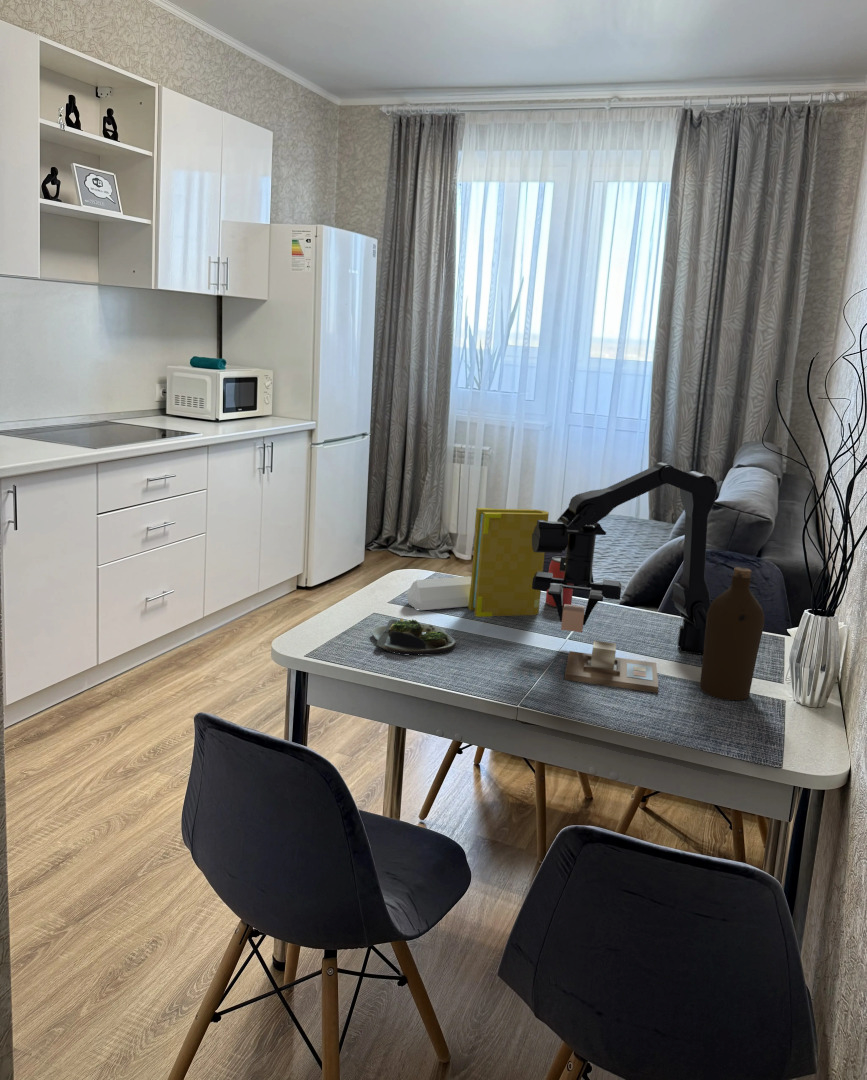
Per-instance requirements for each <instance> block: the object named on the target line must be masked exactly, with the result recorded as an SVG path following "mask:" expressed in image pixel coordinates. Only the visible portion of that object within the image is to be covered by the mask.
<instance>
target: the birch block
mask: <svg viewBox="0 0 867 1080" xmlns="http://www.w3.org/2000/svg"><path fill="white" fill-rule="evenodd" d="M616 653H617V643H615V642H607V641H600V640H599V641H598V640H593V644H592V652H591V654H592V659H591V667H598V668H605V669H612V670H614V661H615V657H616Z"/></svg>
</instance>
